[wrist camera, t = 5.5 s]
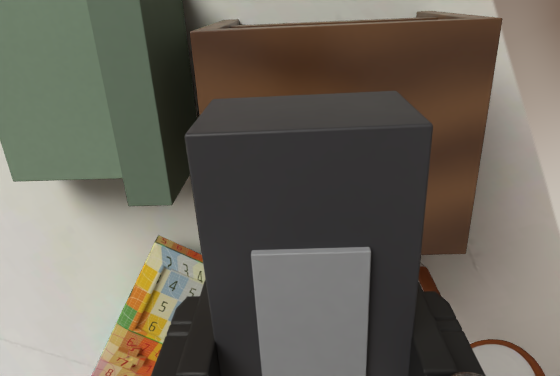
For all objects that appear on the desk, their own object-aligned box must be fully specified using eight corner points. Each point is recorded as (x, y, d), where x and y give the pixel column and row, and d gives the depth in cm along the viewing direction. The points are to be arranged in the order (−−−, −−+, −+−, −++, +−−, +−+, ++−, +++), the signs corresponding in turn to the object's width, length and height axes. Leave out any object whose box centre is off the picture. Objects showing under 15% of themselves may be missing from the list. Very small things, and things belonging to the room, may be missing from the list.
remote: (211, 98, 11) (179, 138, 8) (397, 90, 10) (439, 127, 7) (250, 433, 15) (240, 536, 12) (377, 431, 15) (397, 537, 12)
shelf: (223, 19, 33) (189, 31, 22) (432, 11, 33) (503, 18, 22) (237, 185, 39) (216, 259, 28) (416, 180, 38) (466, 254, 27)
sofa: (46, 159, 39) (-31, 210, 29) (-2, -13, 33) (-115, -17, 24) (201, 155, 38) (172, 205, 29) (179, -22, 32) (135, -29, 23)
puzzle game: (81, 395, 44) (152, 247, 36) (100, 359, 48) (166, 220, 41) (187, 434, 46) (274, 301, 38) (196, 396, 50) (276, 270, 43)
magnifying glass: (445, 230, 40) (571, 422, 22) (458, 239, 41) (592, 437, 22) (382, 289, 43) (447, 503, 25) (395, 298, 44) (468, 515, 25)
